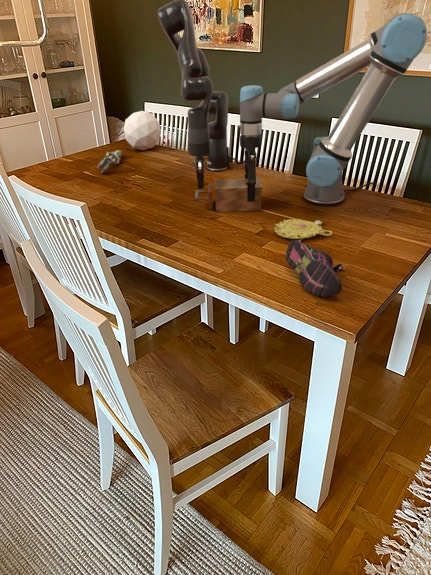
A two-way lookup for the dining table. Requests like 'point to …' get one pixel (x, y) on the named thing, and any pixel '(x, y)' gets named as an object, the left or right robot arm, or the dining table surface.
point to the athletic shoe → (314, 269)
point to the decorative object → (300, 229)
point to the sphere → (142, 130)
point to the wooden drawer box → (236, 195)
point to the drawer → (205, 197)
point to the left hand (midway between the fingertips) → (200, 188)
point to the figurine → (110, 160)
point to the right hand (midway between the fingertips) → (249, 195)
